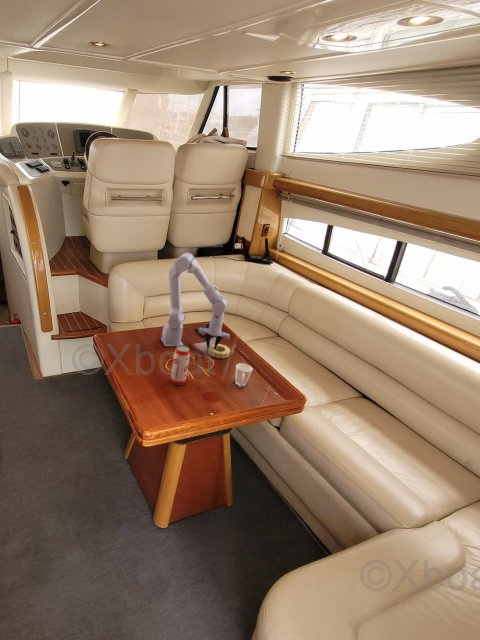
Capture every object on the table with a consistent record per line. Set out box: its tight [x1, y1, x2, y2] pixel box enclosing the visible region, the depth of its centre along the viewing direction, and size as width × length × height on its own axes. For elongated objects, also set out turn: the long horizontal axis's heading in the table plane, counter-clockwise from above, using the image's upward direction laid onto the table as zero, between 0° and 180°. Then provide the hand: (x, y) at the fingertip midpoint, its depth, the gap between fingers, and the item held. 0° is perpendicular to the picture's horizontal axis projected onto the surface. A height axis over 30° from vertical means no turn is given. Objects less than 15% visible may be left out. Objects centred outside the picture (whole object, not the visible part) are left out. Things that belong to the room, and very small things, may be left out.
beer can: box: [170, 345, 191, 386], centre depth 157 cm, size 6×6×16 cm
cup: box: [234, 363, 254, 388], centre depth 161 cm, size 7×10×8 cm
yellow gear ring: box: [207, 343, 231, 359], centre depth 186 cm, size 10×10×2 cm
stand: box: [195, 322, 216, 338], centre depth 205 cm, size 9×9×6 cm
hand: (211, 348), depth 187 cm, fingers closed on yellow gear ring, 3 cm apart
